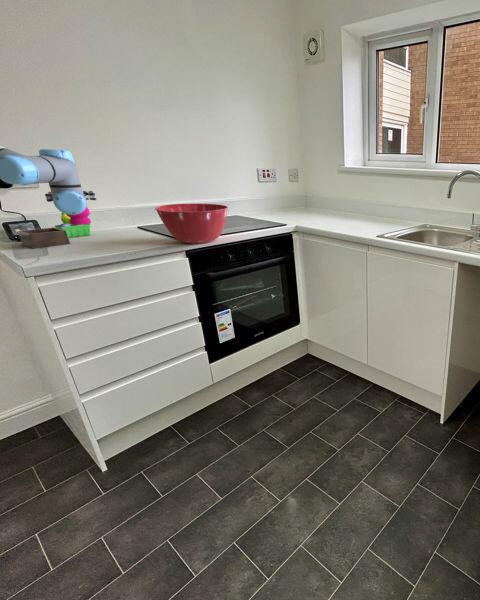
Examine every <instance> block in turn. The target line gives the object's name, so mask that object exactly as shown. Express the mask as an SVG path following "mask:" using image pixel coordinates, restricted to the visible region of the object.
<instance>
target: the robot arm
mask: <svg viewBox="0 0 480 600" xmlns="http://www.w3.org/2000/svg"><path fill="white" fill-rule="evenodd" d="M38 154H39V155H26V154H23V153H20V152H17V151H15V150H12V149H9V148H8V147H5V146H2V145H0V180H1V181H3V182H4V183H6V184H8V185H9V184H10V185H20V186H30V185H36V184H48V186H49V188H50V191H48V192H47V193H45V194H44V196H45V200H46V202H48V203H52V202H53V205H54V207H55V208H56V209H57V210H58V211H59V212H60V213H62V212H63V213H65V214H69V215H76V214H80V213H82V212H83V211H84V210H85V209H86V206H87V207H88V204H87V201H89V200H90V201H97V195H96V193H95V192H94V191H92V190H88V191H87V190H83V187H82V184H81V181H80V176H79V172H78V170H77V169H78V168H77V166H76V165H77V164H76V162H75V160H74V157H73V154H72V152H71V151H69V150H67V149H52V148H51V149H49V148H40V149H39V150H38Z"/></svg>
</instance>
